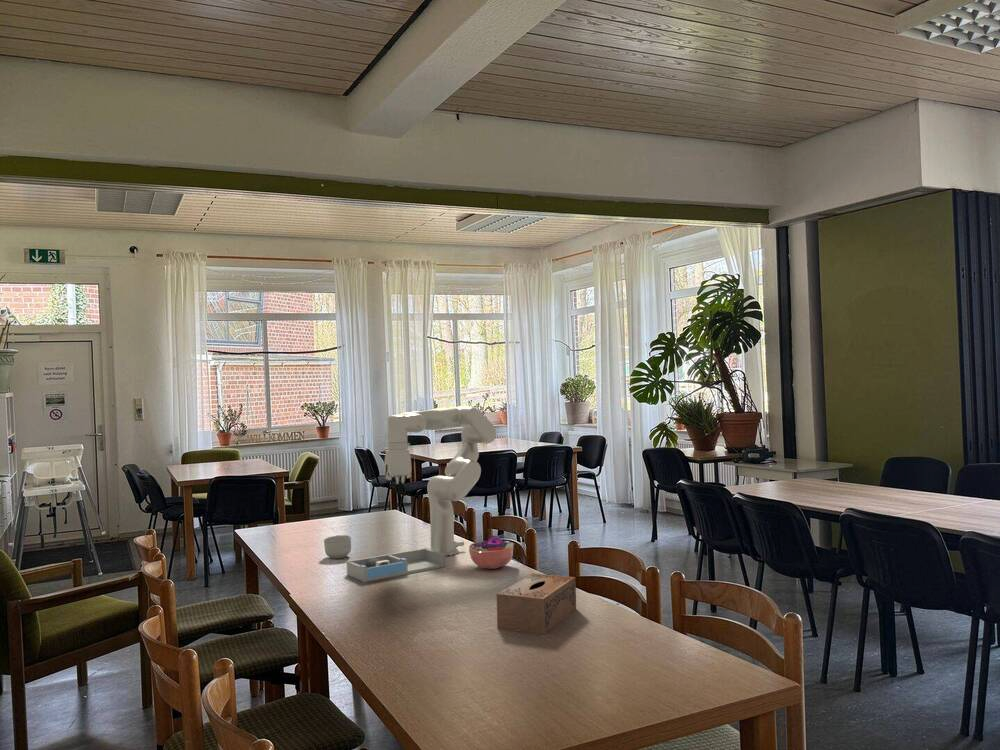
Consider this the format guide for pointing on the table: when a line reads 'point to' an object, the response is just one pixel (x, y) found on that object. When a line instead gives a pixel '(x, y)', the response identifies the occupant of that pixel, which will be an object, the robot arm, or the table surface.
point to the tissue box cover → (536, 603)
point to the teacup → (337, 546)
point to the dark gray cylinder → (376, 562)
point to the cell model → (491, 553)
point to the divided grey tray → (396, 564)
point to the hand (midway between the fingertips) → (398, 493)
